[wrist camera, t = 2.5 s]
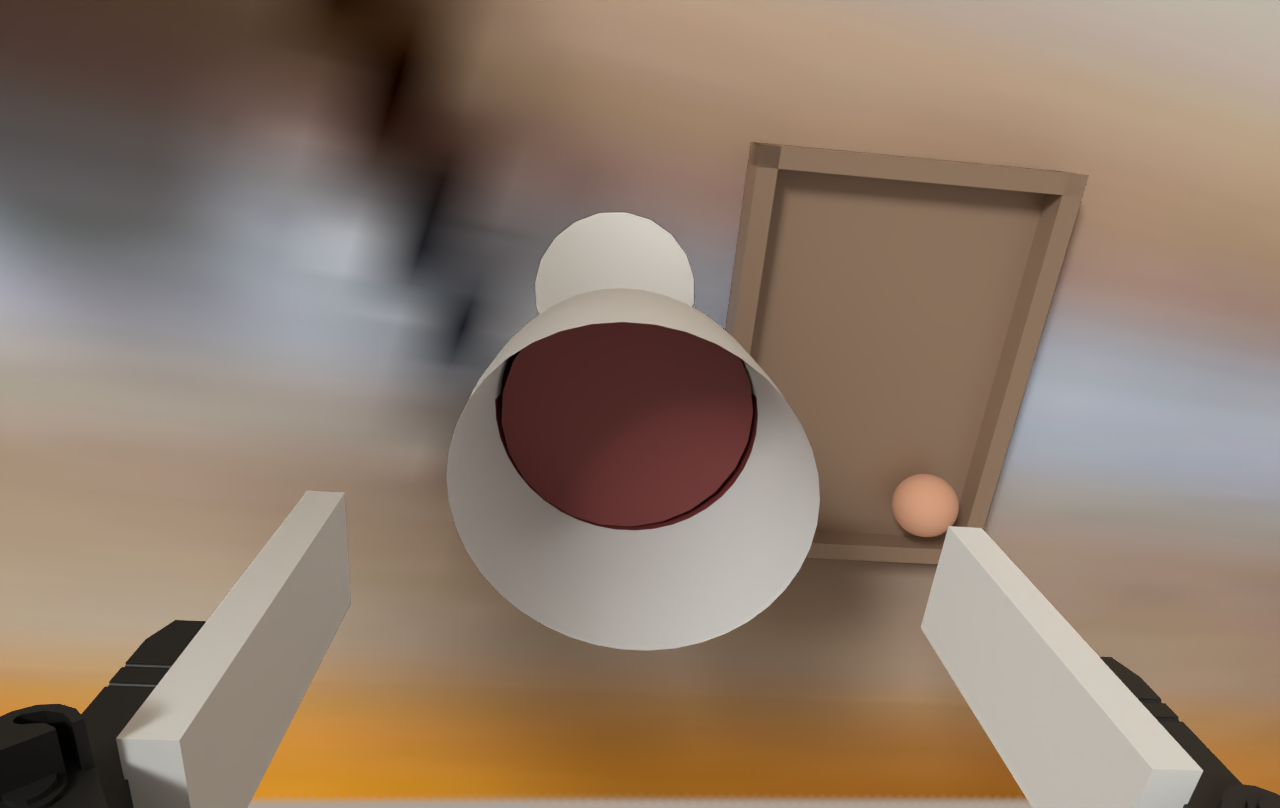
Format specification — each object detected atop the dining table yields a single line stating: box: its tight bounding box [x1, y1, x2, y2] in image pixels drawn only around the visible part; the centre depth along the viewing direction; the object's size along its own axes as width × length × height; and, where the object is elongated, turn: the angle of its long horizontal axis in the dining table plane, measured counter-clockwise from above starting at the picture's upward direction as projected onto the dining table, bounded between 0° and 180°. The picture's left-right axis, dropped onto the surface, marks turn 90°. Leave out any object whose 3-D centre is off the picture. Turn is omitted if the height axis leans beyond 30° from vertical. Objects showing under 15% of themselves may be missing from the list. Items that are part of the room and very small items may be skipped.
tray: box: [725, 142, 1089, 564], centre depth 40 cm, size 22×16×2 cm
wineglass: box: [446, 212, 820, 651], centre depth 29 cm, size 9×10×22 cm
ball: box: [892, 474, 959, 537], centre depth 42 cm, size 4×4×4 cm
